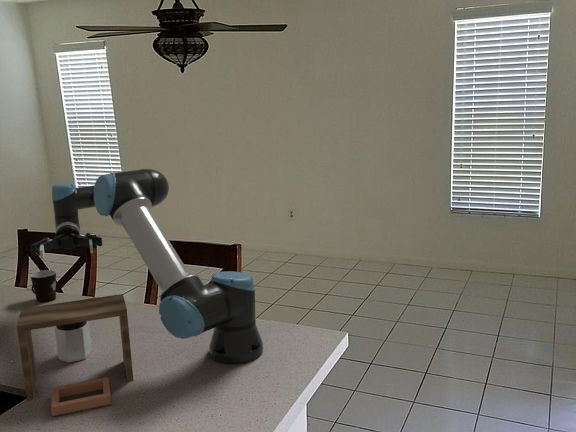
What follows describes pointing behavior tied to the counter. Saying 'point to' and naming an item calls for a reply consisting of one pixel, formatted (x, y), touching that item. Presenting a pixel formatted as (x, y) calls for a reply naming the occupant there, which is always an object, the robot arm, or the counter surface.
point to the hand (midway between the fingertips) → (66, 251)
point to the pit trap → (80, 396)
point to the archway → (68, 315)
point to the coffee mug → (44, 285)
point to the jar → (73, 341)
